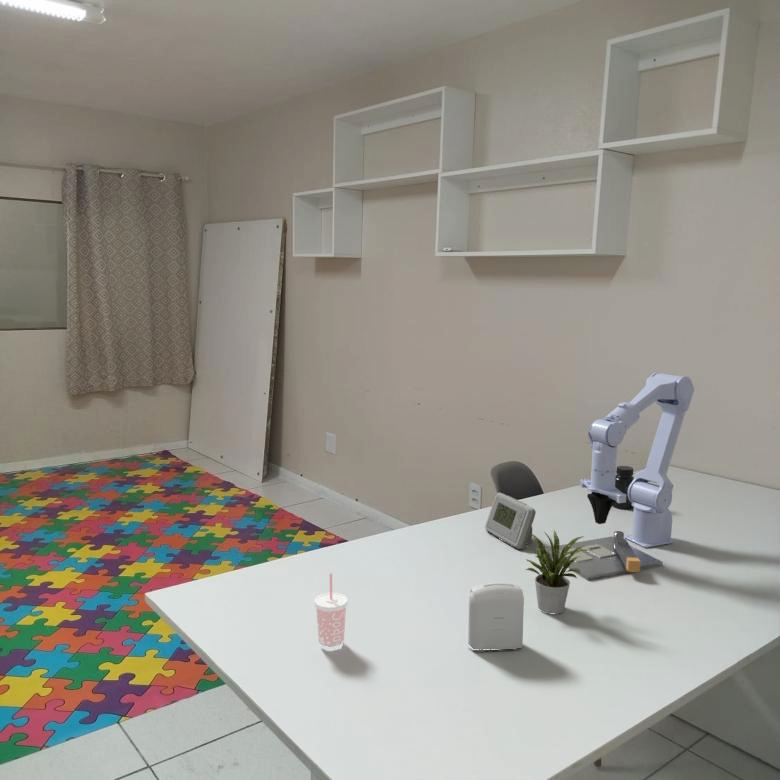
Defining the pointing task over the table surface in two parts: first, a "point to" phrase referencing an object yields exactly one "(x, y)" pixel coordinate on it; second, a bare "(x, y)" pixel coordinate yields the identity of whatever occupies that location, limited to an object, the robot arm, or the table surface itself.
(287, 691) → the table surface
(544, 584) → the house plant
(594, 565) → the grey lever board
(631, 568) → the swing bar
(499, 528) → the digital clock
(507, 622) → the photo printer
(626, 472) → the supplement bottle
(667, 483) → the robot arm
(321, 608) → the beverage cup
